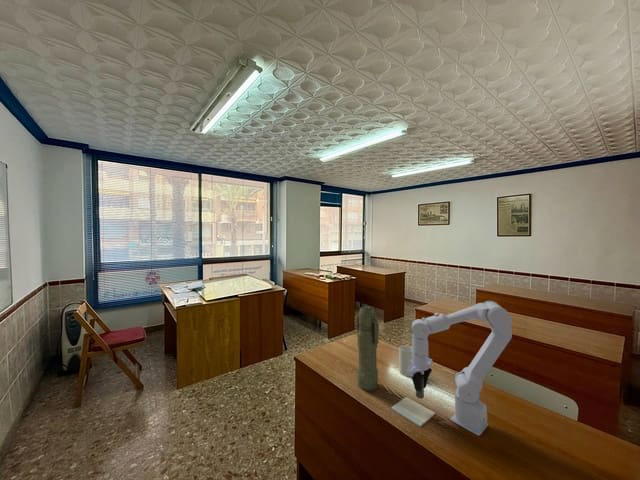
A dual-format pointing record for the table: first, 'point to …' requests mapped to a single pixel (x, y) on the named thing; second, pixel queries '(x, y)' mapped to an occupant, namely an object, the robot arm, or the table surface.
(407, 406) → the notepad
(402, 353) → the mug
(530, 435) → the table surface
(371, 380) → the thermos
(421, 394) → the cylinder
